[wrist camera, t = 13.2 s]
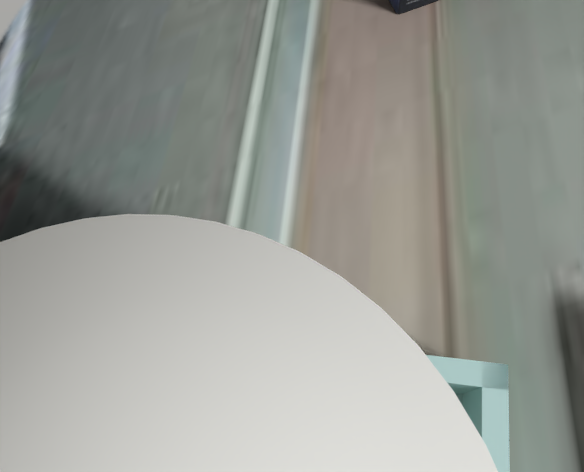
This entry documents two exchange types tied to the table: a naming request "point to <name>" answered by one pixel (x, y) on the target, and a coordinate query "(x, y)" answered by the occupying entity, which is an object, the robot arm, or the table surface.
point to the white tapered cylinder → (208, 359)
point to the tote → (482, 400)
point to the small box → (408, 4)
